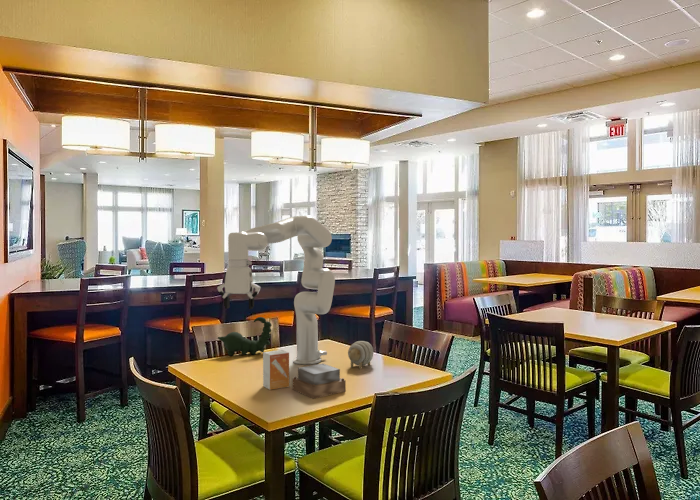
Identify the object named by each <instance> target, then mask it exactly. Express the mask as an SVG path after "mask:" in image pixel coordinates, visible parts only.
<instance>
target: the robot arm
mask: <svg viewBox="0 0 700 500" xmlns="http://www.w3.org/2000/svg"><path fill="white" fill-rule="evenodd" d="M294 237H297V242H298V243H299V246H300V247H301V248H302V250H303V251H302V252H303V255H304V262H303V268H302V273H301V285H302V287H303V288H305V289H311V290H317V291H316V292H315V291H307V290H306V291H301V292H299V293H297V294H296V295H295V297H294V301H293V305H294V311H295V315H296V357H294V358H293V360H292V361H293V363H294V364H297V365H317V364H320V363H321V362H322V356H327V355H328V352H327V350H319V338H318V337H319V336H318V334H319V331H318V330H319V329H318V328H319V327H318V325H319V324H318V323H319V322H318V319H317V316H316V315H325V314H327V313H329V312H330V309H331V306H332V304H333V303H332V302H333V296H334V290H335V285H336V284H335V283H336V277H335V274H334V272H333V271H332V270H330V269H329V268H323V267H324V255H323V253H322V251H321V249H322V248H326V247H327V248H328V247H329V246H330V245H331V243H332V239H333V237H332V233H331V231H330V230H329V229H328V228H327V227H326V226H325V225H324V224H322V223H321V222H320V221H319V220H317V219H316V218H315V217H312V216H311V215H298V216H297V215H295V216H291V217H287V218H285V219H282V220H278V221H275V222H272V223H268V224H264V225H261V226H256V227H252V228H248V229H246V230H242V231H240V232H230V233H229V234H228V237H227V241H228V242H227V243H228V244H227V246H228V249H227V250H228V251H227V253H228V256H227V257H228V258H227V259H228V267H227V268H226V273H225V278H224V283H221V285H218V286H217V287H216V289H217V291H218V292H219V295H220V296H221V298H223V306H224V309H225V310H227V309H229V308H230V307H231V305H230V304H231V303H230V300H231V299H230V297H229V296H230V295H232V294H235V295H238V294H239V295H245V294H246V295H247V297H248V298H249V299H248V309H249V310H253V309H254V307H255V298H256V297H257V295H259V292H260V291H261V289H262V287H261V286H260V285H258V284H255V283H254V279H253V273H252V268H251V267H250V266H252V264H253V262H252V261H251V260H250V259H249V251H250V252H259V251H262V250H265V248H266V247H267V245H268V244H277V243H281V242H284V241H287V240H290V239H292V238H294ZM320 248H321V249H320ZM223 288H224V290H223ZM254 289H255V290H254Z"/></svg>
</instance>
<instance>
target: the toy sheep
mask: <svg viewBox="0 0 700 500" xmlns="http://www.w3.org/2000/svg"><path fill="white" fill-rule="evenodd" d="M347 356H348V359H349V360H350V369H353V368H354V365H356V366H358V369H359V370H362V369H363V366H366V365H367V366H370V365H371V362H372V360H373V358H374V347H373V346H372V344H371V343H370V342H368V341H365V340H358V341H355V342H354V343H352V344H351V345H350V346H349V348H348V350H347Z"/></svg>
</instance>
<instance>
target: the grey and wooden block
mask: <svg viewBox="0 0 700 500" xmlns="http://www.w3.org/2000/svg"><path fill="white" fill-rule="evenodd" d="M340 377H341V369H340V368H337V367H335V366H331V365H328V364H325V363H316V364H311V365H308V366H307V365H306V366H303V367H298V368H297V376H293V378H292V390H294V391H295V392H298V393H300V394H303V395H304V396H306V397H308V398H310V399H312V400H313V399H318V398H323V397H328V396H331V395H335V394H340V393H344V392H346V391H347V390H346V389H347V388H346V386H347V385H346V384H347V383H346V379H345V378H344V377H343V378H340Z"/></svg>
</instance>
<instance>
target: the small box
mask: <svg viewBox="0 0 700 500" xmlns="http://www.w3.org/2000/svg"><path fill="white" fill-rule="evenodd" d="M262 375H263V376H262V380H263V381H262V385H263V387H264V388H265V389H268V390H270V391H271V390H277V389H282V388H283V389H285V388H289V387H290V352H288V351H286V350H284V349H279V350H278V349H277V350H270V351H265V352H262Z"/></svg>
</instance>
